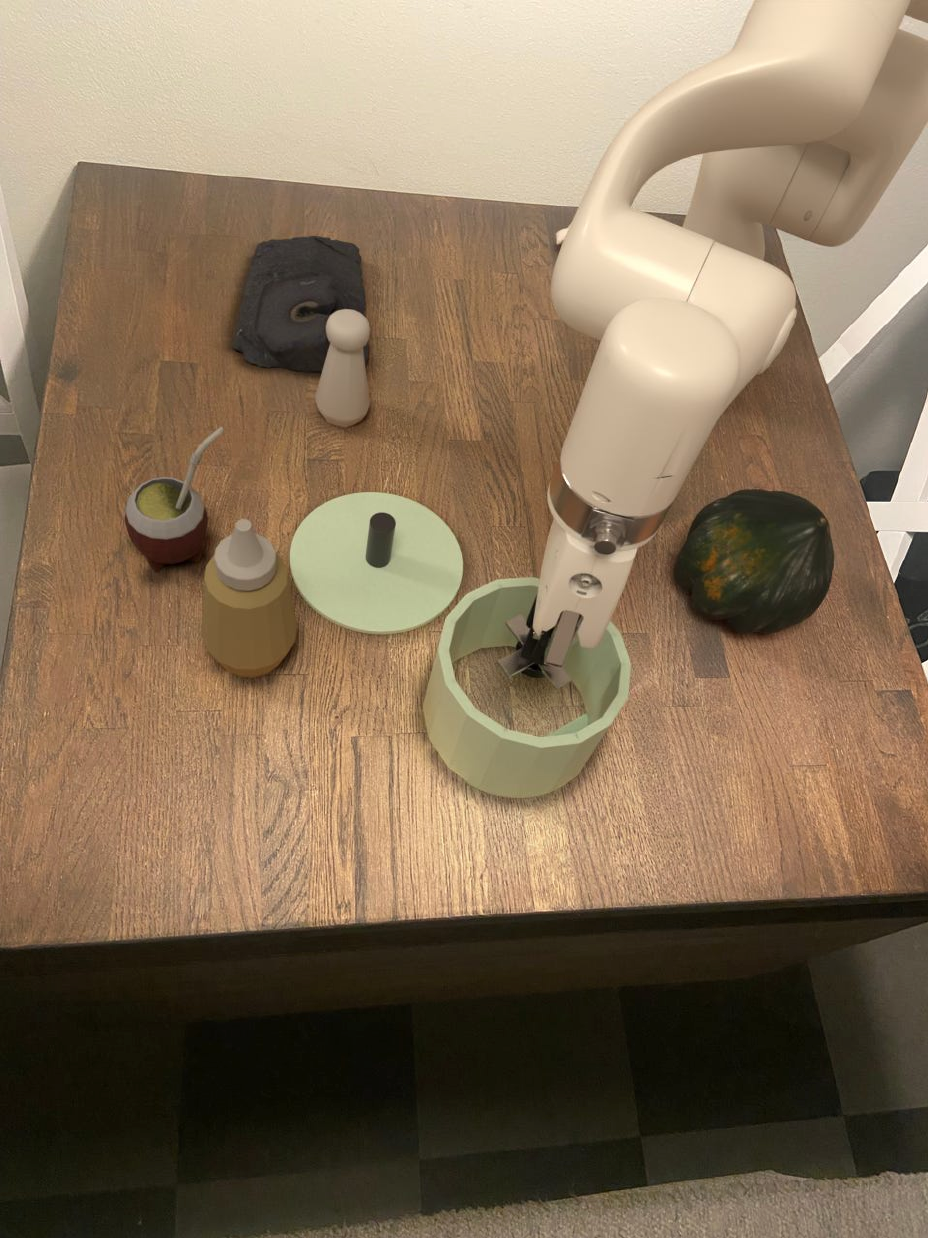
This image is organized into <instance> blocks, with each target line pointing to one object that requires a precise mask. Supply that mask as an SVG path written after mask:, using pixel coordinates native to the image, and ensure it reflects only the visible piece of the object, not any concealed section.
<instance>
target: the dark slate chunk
mask: <svg viewBox="0 0 928 1238" xmlns="http://www.w3.org/2000/svg"><path fill="white" fill-rule="evenodd" d="M361 264H362V256H361V254H360V248H359V247H358V246H357V245H356V244H355V243H352V242H348V241H342V240H339V239H331V237H325V236H319V235H309V236H296V237H292V238H282V239H280V238H279V239H269V240H265V241H262V242H259V243H258V244H257V245H256V247H255V249H254V253H253V255H252V258H251V267H250V268H249V269H248V271H249V272H248V274H247V279H246V282H245V286H244V289H243V293H242V296H241V297H242V300H241V302H240V309H239V311H238V314H237V320H236V323H237V324H236V327H235V329H234V333H235V334H234V335H233V336H234V337H233V338H232V342H233V343H232V346H231V348H232V349H234V350H235V351H237V352H240V353H241V354H243V356H244V361H245V363H247V364H250V365H256V366H257V367H261V368H262V367H263V368H267V369H271V368H272V367H276V368H284V369H288V370H289V371H297V372H304V373H319V374H322V371H323V367H324V363H325V360H326V356H327V353H328V349H329V346H330V342H329V340H328V338H327V334H326V324H327V321H328V319H329V317H330V315H331V314H333V313H334V312H336V311H338V310H343V309H350V310H355V311H357V312H359V313H361V314H362V315H363V316H364V317H365V318H366V319H367V315H365V314H366V310H365V307H366V305H367V303H366V289H365V287H364V285H363V283H364V279H363V276H362V275H363V271H362V267H361ZM363 352H364V361H365V366H366V365H367V364H368V363H369V358H370V357H369V353H370V344H369V341H368V342H367V344H366V345H365V346H364V347H363Z"/></svg>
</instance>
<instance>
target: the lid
mask: <svg viewBox="0 0 928 1238" xmlns="http://www.w3.org/2000/svg"><path fill="white" fill-rule="evenodd" d="M461 549H462V548H461V546H460V543H459V542H458V540H457V537H456V535H455V534H454V533H453V531H452V530H451V528H450V527H449V525H448V524H447V523H446V522H445V521H444V520H443V519H442V518H441V517H440V516H439V515H437V514H436V513H435V512H433V511H432V510H431V509H429V508H428V507H426V506H425V505H423V504H421V503H419V502H417V501H416V500H413V499H410V498H408V497H404V496H401V495H398V494H393V493H388V492H380V491H362V492H354V493H348V494H343V495H340V496H338V497H334V498H332V499H330V500H327V501H325V502H324V503H322V504H321V505H319V506H317V507H316V508H315V509H313V510H312V511H311V512H310V513H308V515H306V517H305V518H304V519H302V521H301V522H300V524H299V526H298V527H297V529H296V530H295V533H294V535H293V537H292V540H291V544H290V549H289V569H290V574H291V579H292V580H293V583H294V586H295V588H296V589H297V591H298V592H299V595H300V596H301V597H302V598H303V600H304V601H305V603H306V604H307V605H309V606H310V608H312V610H313V611H315V612H316V613H317V614H319V615H320V616H321V617H323V618H324V619H325V620H327V621H329V622H331V623H333V624H335V625H336V626H339V627H341V628H343V629H346V630H349V631H353V632H356V633H362V634H365V635H366V634H368V635H378V636H379V635H397V634H403V633H407V632H410V631H413V630H416V629H418V628H421V627H424V626H426V625H428V624H429V623H431V622H433V621H434V620H436V619H437V618H438V617H440V616H441V615H442V614H444V612H445V611H446V610H448V608H449V607H450V605H451V604H452V603H453V601H454V600H455V598H456V596H457V594H458V593H459V591H460V587H461V584H462V580H463V575H464V559H463V553H462V550H461Z"/></svg>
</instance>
